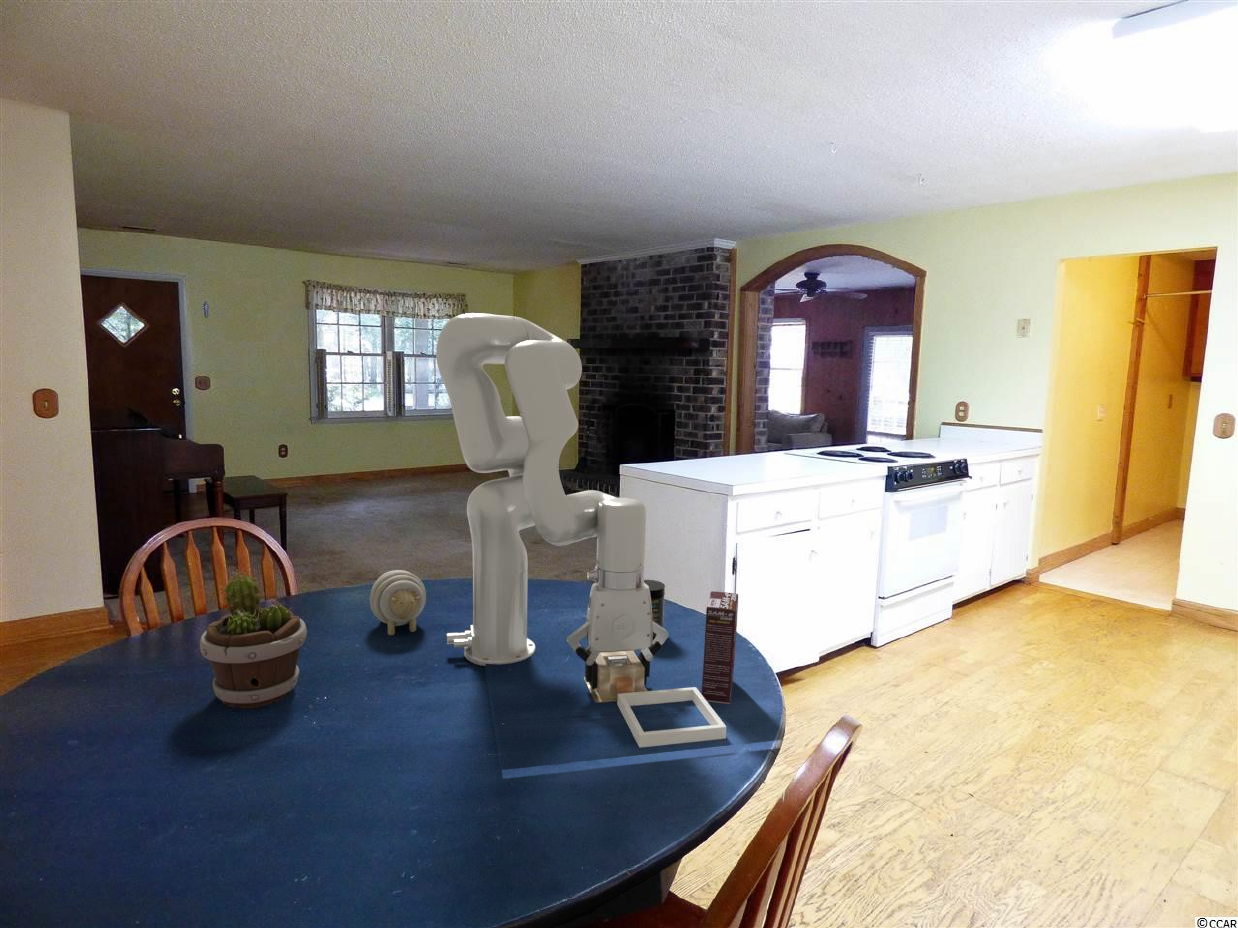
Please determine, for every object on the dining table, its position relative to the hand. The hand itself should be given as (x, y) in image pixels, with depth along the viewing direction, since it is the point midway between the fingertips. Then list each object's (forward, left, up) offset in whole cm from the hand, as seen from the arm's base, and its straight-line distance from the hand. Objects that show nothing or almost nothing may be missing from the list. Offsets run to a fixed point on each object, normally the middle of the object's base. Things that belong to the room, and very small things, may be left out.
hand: (617, 682), depth 118 cm
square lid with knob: (0, 0, -2) cm, 2 cm away
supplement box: (+16, -4, -2) cm, 16 cm away
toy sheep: (-35, +36, -2) cm, 50 cm away
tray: (+5, -12, -2) cm, 13 cm away
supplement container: (+11, +22, -2) cm, 24 cm away
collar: (0, 0, -1) cm, 1 cm away
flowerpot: (-55, +10, -2) cm, 56 cm away
